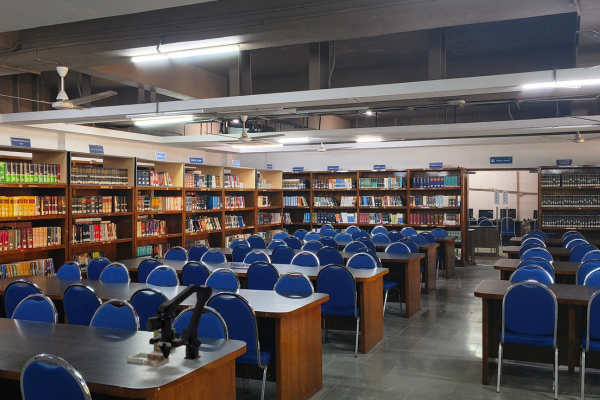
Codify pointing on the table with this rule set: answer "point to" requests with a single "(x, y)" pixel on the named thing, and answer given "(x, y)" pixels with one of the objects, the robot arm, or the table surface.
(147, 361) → the beige square slab
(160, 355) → the tile
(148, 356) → the tile
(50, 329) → the table surface
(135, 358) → the tray
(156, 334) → the chalk box
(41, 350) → the table surface
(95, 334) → the table surface
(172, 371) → the table surface
